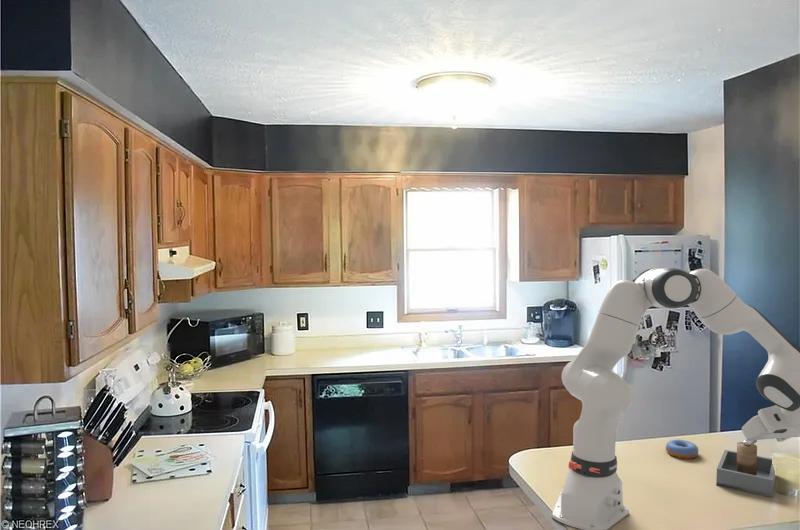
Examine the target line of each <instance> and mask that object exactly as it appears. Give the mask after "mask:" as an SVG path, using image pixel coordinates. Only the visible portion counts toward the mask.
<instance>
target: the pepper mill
mask: <svg viewBox="0 0 800 530" xmlns="http://www.w3.org/2000/svg"><path fill="white" fill-rule="evenodd" d="M736 452H737V472H741V473H746V474H751V475H756V476H757V456H758V445H756V443H754V444H749V443H748V441H747V439H743V440H742V441H739V442H737V443H736Z"/></svg>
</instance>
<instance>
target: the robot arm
mask: <svg viewBox="0 0 800 530" xmlns="http://www.w3.org/2000/svg"><path fill="white" fill-rule="evenodd" d="M685 306H688V307H689V308H691V309H692V310H693V312H694V313H695V314H696V316H697V317H698V318H699V320H700V321H701V322H702V323H703V324H704V325H705V326H706V327H707V328H708V329H709V330H710V331H711V332H712V333H715V334H717V335H724V336H728V335H729V336H730V335H734V334H737V333H740V332H743V331H744V332H745V333H746V332H747V333H748V334H749V335H750V336H751V337H753V338H754V340H755V341H756V342H758V343H759V345H761V346H762V347H763V348H764V349H765V350H766V352H767V355H768V358H767V362H766V363H765V365H764V367H763V368H762V370H761V371H760V373H759V374H758V376H757V378H756V380H755V385H756V389H757V391H758V392H759V394H760V395H761V396H762V397H763V398H765V399H766V400H767V401H769V402H770V403H771V404H773V405H772V406H768V407H764V408H761V409H758V411H757V415H755V416H752V417H751V418H750V419H749V420H747V422H746V423H745V424H743V426H742V427H741V432H742V434H743V436H744V437H745V440H747V441H748V443H749V444H756V443H757V442H758V441H761V440H773V439H774V440H775V439H776V441H777V442H778V443H780V442H781V443H782V442H785V441H786V440H789V439H791V438H800V346H799V345H797V344H796V343H794V342H793V341H791V340H790V339H789V338H788V337H787V336H786V335H785V334H784V333H783V332H782V331H780V330H779V329H778V327H776V326H775V325H774V323H772V322H771V320H769V319H768V318H767V317H766V316H765V315H764V314H763V313H762V312H761V311H759V309H757V308H755V307H754V306H752V305H749V304H747V303H745V302H744V301H743V300H742V299H741V298H740V297H739V296H738V295H737V294H736V292H735V291H734V290H733V289H732V288H731V287H730V286H729V285H728V284H727V283H726V282H725V281H724V280H723V279H722V278H721V277H720V276H719V275H718V274H716V273H715V272H714V271H712V270H711V269H708V268H699V269H698V268H697V269H694V270H692V271H690V272H687V271H685V270H682V269H680V268H675V267H664V266H662V267H661V266H659V267H655V268H649V269H645V270H643V271H642V272H641V273H639V274H638V275H637V276H636V277H635V278H634V279H632V280H627V279H621V280H617V281H615V282H614V283H613V284H612V285H611V287H610V288H609V289H608V292H607V293H606V295H605V297H604V299H603V301H602V303H601V306H600V307H599V310H598V314H597V316H596V318H595V321H594V324H593V327H592V330H591V332H590V334H589V337H588V339H587V341H586V342H585V344H584V346H583V347H582V348H581V350H580V351H579V353H578V354H577V356H576V357H575V358H574V359H573V360H571V361H569V362H568V363H567V364H566V365H564V367H563V369H562V371H561V382H562V384H563V386H564V388H565V389H566V390H567V392H569V394H570V395H571V396H572V397H575V398H576V399H577V400H579V401H581V405H582V406H581V407H582V408H581V412H580V416H579V419H578V420H576V421H575V422H574V424H573V428H572V429H573V430H572V432H573V433H572V434H573V435H572V436H573V437H572V438H573V442H572V445H573V447H572V451H571V456H570V460H569V461H568V466H567V467H568V472H567V475H566V478H565V482H564V485H563V487H562V491H560V492H559V494H558V498H557V500H556V502H555V505H554V508H553V510H552V512H551V518H553V519H554V520H556V521H557V522H559V523H562V524H564V525H566V526H569V527H573V528H575V529H579V530H609V529H610V528H611V527H612V526H614V525H616V524H618V522H620V521H621V520H623V518H625V517H626V516H627V515H629V514H630V509H629V508H628V507H627V506H626V505H624V494H623V493H624V491H623V480H622V479H621V478H620V477H619V475H618V473H617V471H618V459H617V455H616V436H617V427H618V425H619V420H620V417H621V415H622V414H623V413H624V412H625V411H627V410H628V408H629V407H630V406H631V403H632V401H633V391H632V387H631V386H630V384H628V382H626V381H625V379H624V378H623V377H622V376H620V375H619V374H618V373H616V372H614V371H613V369H614V368H615V366H616V365H617V364H618V363H619V361H621V359H623V358H624V357H626V356H628V355H629V354H630V353H631V350H632V347H633V345H634V342H635V340H636V336H637V334H638V331H639V329H640V325H641V323H642V319H643V316H644V315H645V312H647V310H648V309H649V308H651V307H655V308H659V309H679V308H683V307H685Z"/></svg>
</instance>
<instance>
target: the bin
mask: <svg viewBox="0 0 800 530" xmlns="http://www.w3.org/2000/svg"><path fill="white" fill-rule="evenodd" d="M772 459H773V458H770V457H766V456H762V455H761V456H760V455H757V476H756V475H751V474H746V473H741V472H737V451H734V450H728V449H724V451H723V453H722V456H721V458H720V460H719V463H718V465H717V467H716V483H715V484H716V486H719V487H724V488H728V489H732V490H738V491H740V492H741V491H742V492H747V493H751V494H756V495H759V496H764V497H769V498H773V495H774V490H775V485H774V484H775V483H776V479H775V470H774V467H773V464H772Z"/></svg>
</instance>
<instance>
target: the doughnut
mask: <svg viewBox="0 0 800 530" xmlns="http://www.w3.org/2000/svg"><path fill="white" fill-rule="evenodd" d="M665 450H666V452H667V453H668V455H670V456H672V457H674V456H675V458H679V459H683V458H684V460H689V459H690V460H691V459H695V458H696V457H698V455H699V447H698V446H697V445H696V444H695V443H693V442H691V441H688V440H684V439H672V440H669V441H668V442H666V444H665Z"/></svg>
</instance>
